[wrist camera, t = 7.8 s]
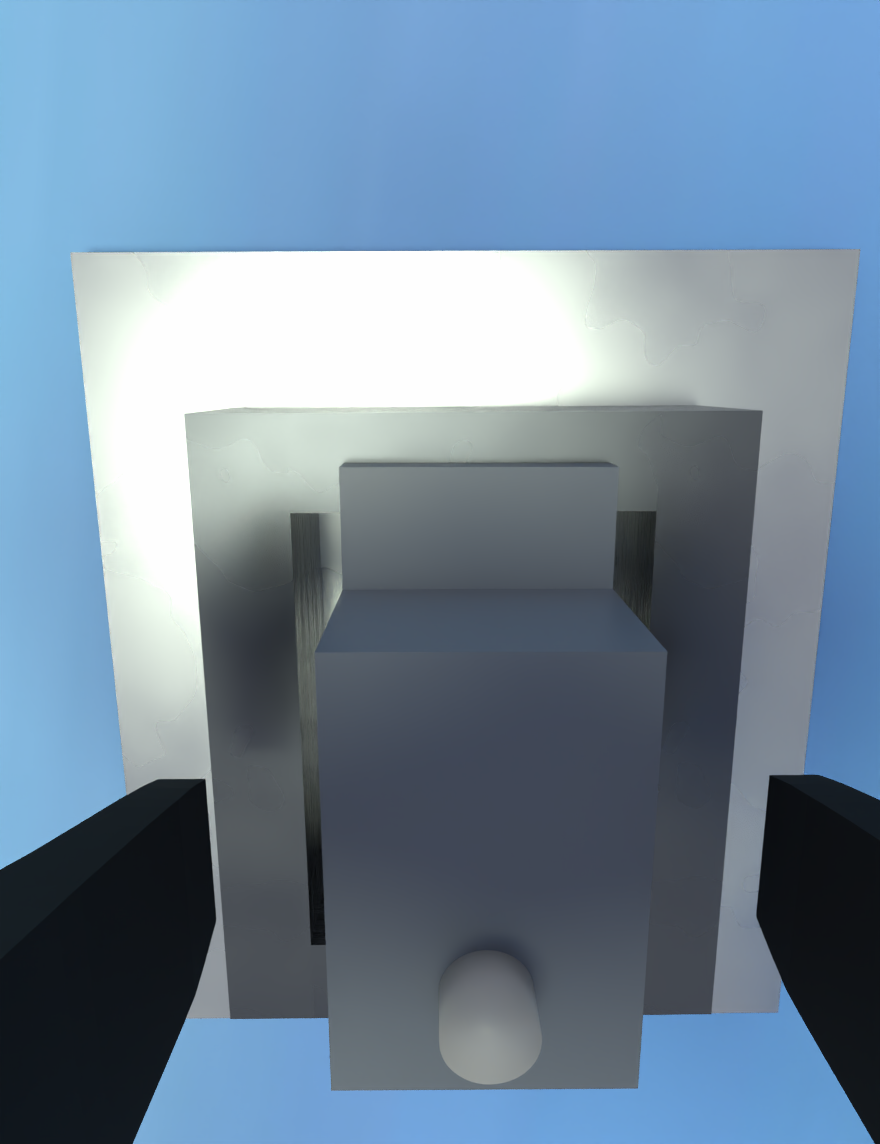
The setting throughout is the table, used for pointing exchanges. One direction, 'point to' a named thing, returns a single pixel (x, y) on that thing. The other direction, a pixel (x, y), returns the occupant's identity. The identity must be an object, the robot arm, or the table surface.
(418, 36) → the table surface
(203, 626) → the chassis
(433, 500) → the servo
